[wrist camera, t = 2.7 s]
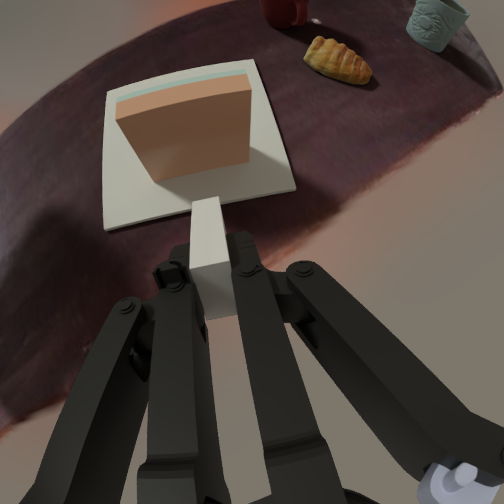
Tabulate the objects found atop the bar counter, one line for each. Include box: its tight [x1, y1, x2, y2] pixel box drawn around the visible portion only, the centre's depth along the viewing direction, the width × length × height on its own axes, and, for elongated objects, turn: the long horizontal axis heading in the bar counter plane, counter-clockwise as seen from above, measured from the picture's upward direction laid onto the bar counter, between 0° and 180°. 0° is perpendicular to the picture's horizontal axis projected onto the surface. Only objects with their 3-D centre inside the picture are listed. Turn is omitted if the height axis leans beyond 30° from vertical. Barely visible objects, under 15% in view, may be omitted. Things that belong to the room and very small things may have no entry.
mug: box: [259, 0, 309, 29], centre depth 31 cm, size 11×8×10 cm
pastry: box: [304, 36, 372, 85], centre depth 32 cm, size 9×7×4 cm
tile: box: [115, 69, 252, 182], centre depth 24 cm, size 10×2×11 cm, turn 102°
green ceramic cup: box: [406, 0, 470, 52], centre depth 32 cm, size 10×10×12 cm
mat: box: [103, 59, 296, 231], centre depth 30 cm, size 20×20×1 cm
